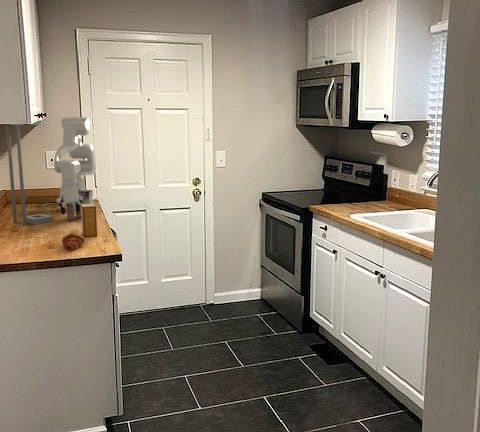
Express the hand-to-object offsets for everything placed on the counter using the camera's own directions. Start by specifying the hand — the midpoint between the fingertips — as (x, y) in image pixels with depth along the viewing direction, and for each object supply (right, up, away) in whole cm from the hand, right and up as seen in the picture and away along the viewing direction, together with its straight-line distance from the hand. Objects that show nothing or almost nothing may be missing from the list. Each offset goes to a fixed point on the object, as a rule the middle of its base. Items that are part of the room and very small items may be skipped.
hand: (70, 212), depth 305 cm
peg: (0, -5, +1) cm, 5 cm away
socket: (-18, -5, -1) cm, 19 cm away
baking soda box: (+21, -12, -35) cm, 42 cm away
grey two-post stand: (-22, -6, -5) cm, 23 cm away
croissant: (+20, -17, -58) cm, 63 cm away
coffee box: (+4, -3, +14) cm, 15 cm away
